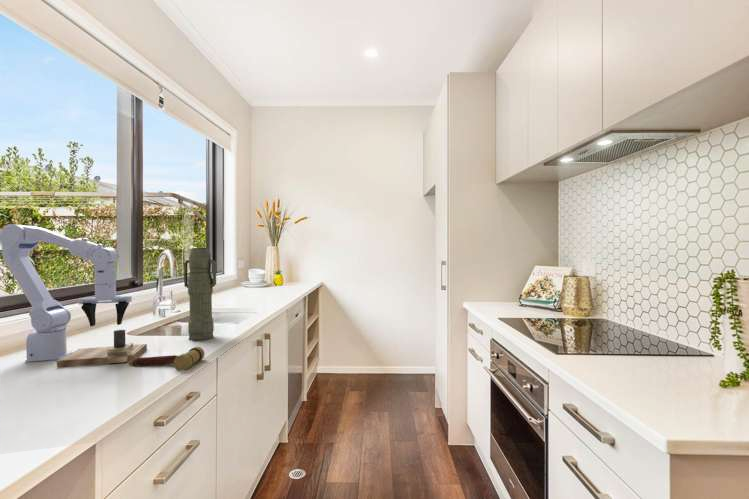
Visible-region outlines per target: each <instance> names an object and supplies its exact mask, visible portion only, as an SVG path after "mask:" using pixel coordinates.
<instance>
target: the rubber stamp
mask: <svg viewBox="0 0 749 499" xmlns="http://www.w3.org/2000/svg"><path fill="white" fill-rule="evenodd" d="M133 345H134V343H126V329H116V330H114V331H113V345H112V347H111V346H109V347H110V348H109V349H107V358H108V364H119V363H118V362H120V363H128V362H127V355H128V354H129V353H131V352H132V347H133Z"/></svg>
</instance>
